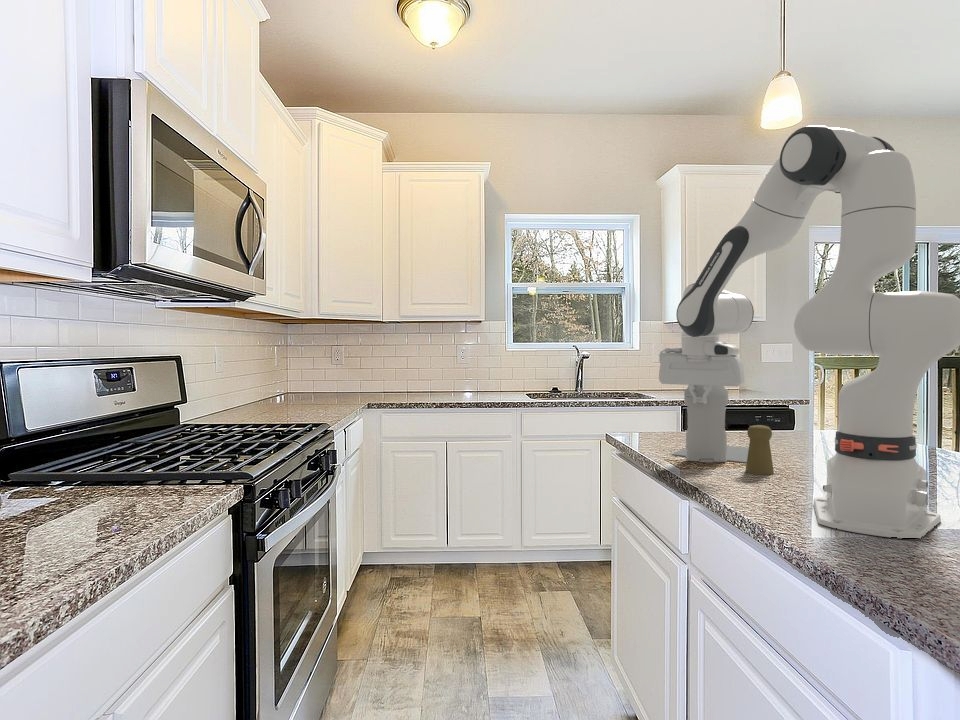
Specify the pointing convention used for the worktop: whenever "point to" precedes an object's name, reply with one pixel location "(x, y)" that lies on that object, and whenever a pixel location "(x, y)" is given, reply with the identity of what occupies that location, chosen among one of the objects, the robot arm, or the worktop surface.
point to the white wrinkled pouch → (706, 426)
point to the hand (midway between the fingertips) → (700, 403)
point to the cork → (759, 451)
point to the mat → (727, 454)
